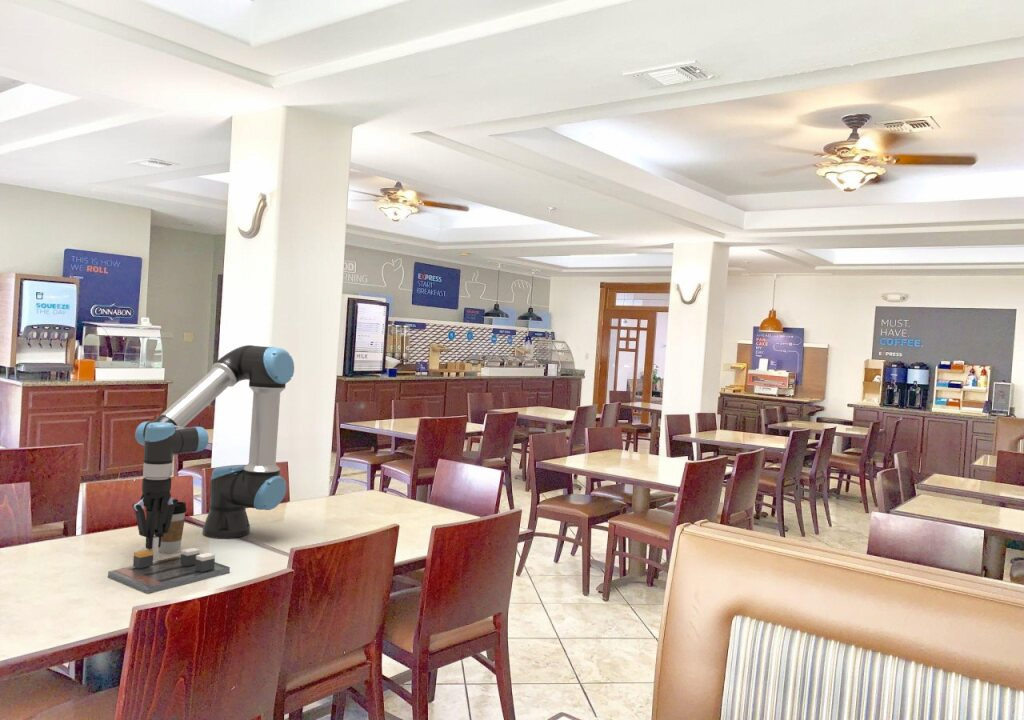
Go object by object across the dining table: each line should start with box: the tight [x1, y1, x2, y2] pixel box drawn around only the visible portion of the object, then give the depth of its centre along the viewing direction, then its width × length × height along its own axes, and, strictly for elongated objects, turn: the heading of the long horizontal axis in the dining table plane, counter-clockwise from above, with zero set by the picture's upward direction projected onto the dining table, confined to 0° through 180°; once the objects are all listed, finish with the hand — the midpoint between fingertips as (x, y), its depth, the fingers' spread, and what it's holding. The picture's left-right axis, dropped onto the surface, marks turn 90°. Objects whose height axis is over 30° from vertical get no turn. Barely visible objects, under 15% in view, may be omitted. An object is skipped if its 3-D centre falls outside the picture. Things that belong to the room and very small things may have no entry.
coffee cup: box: [158, 501, 187, 555], centre depth 237 cm, size 8×8×15 cm
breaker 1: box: [180, 547, 201, 566], centre depth 220 cm, size 4×3×4 cm
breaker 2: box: [195, 552, 216, 572], centre depth 216 cm, size 4×3×4 cm
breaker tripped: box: [132, 549, 154, 568], centre depth 215 cm, size 4×3×4 cm
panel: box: [107, 555, 231, 595], centre depth 215 cm, size 25×19×2 cm
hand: (152, 559), depth 218 cm, fingers closed
